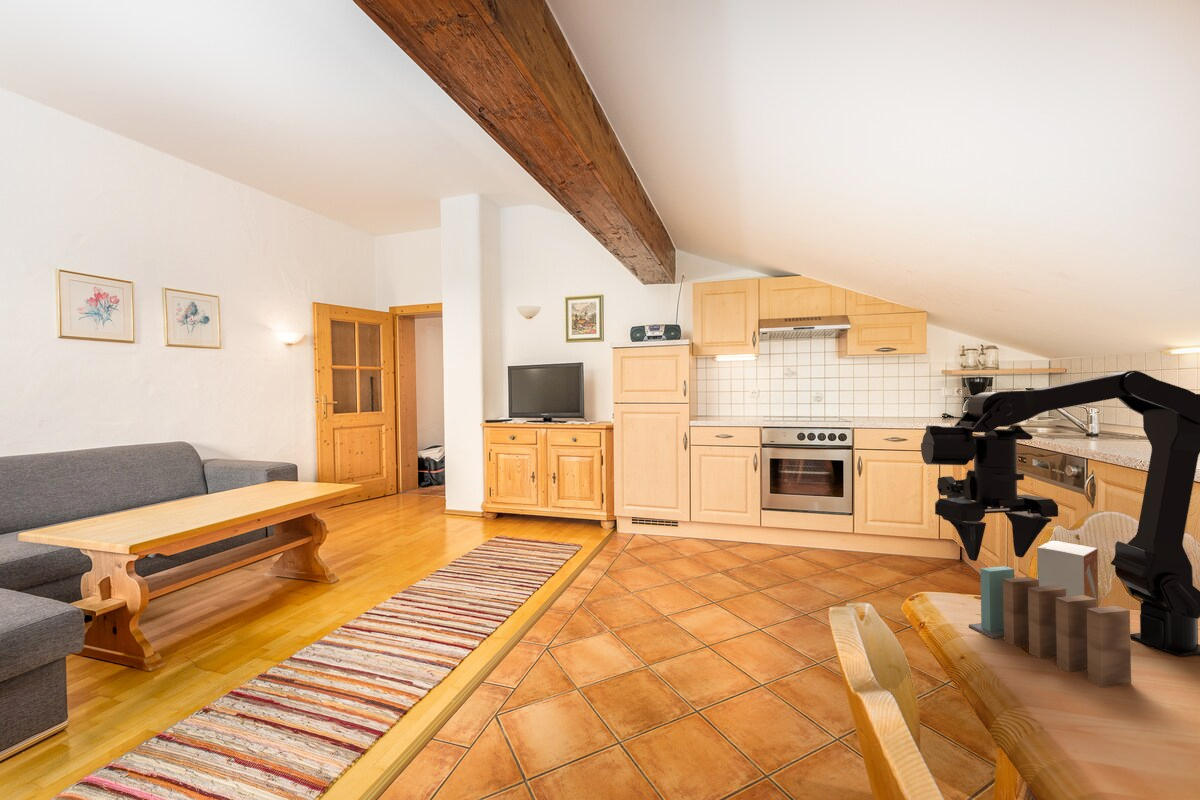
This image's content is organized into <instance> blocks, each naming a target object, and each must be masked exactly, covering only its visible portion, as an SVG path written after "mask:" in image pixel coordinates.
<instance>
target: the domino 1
mask: <svg viewBox="0 0 1200 800" xmlns="http://www.w3.org/2000/svg"><path fill="white" fill-rule="evenodd" d="M979 576H980V614H981V615H980V618H981V619H980V620H981V621H980V623H981V628H984V629H986V630H988V631H990V632H992V631H1001V630H1004V613H1003V579H1007V578H1015V568H1012V567H1008V566H1004V565H1002V566H1001V565H1000V566H990V567H981V568H980V575H979Z"/></svg>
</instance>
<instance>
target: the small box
mask: <svg viewBox="0 0 1200 800" xmlns="http://www.w3.org/2000/svg"><path fill="white" fill-rule="evenodd" d="M1098 550H1099V549H1098V547H1092V546H1089V545H1088V546H1087V545H1082V544H1081V545H1080V544H1076V543H1071V542H1065V541H1057V540H1051V541H1048V542H1045V543H1043V544H1042V545H1039V546H1038V547H1037V548H1036V561H1037V562H1036V567H1037V571H1036V573H1037V575H1036V576H1037V578H1036V579H1037V580H1039V587H1042V586H1053V585H1055V586H1058V587H1061V588H1064V589H1066V597H1067V596H1078V595H1085V596H1088V597H1091V598H1094V599H1096V608H1097V607H1099V574H1098V573H1099V571H1098V570H1099V568H1098V565H1099V563H1098V560H1099V559H1098V554H1099V553H1098V552H1099V551H1098Z"/></svg>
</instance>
